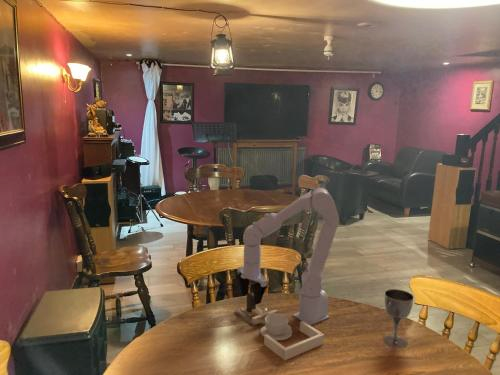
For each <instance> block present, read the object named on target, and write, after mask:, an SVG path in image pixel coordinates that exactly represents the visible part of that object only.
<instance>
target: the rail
mask: <svg viewBox="0 0 500 375" xmlns="http://www.w3.org/2000/svg"><path fill="white" fill-rule="evenodd" d="M256 308H258V309H259V310H261V311H262V312H263V313H267V312H268V311H265V310H264V309H262V307H260V306H258V304H256ZM234 310H235V311H234V312H235V313H236V314H237V315H239V316H240V317H241V318H242V319H244V320H245V321H247V322H248V323H249V324H250V325H252V326H257V324H255V325H254V324H252V318H250V317H249V316H247V315H246V314H245V313H243V312H242V311H240V309H239V308H235V309H234Z"/></svg>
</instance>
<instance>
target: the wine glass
mask: <svg viewBox="0 0 500 375" xmlns="http://www.w3.org/2000/svg"><path fill="white" fill-rule="evenodd" d="M413 304H414V296H413V294H412V293H410V292H409V291H406V290H402V289H397V288H392V289H387V290H385V292H384V306H385V311H386V313H387V315H388V316H389V317H390V318H391V320H392V321H393V323H394V324H393V326H394V333H393V334H385V335H384V336H383V337H382V341H383V342H384V343H385V344H387V345H388V346H390V347H394V348H405V347H407V346H408V341H407V339H406V338H404V337H402V336H400V335H398V331H399V330H398V328H399V325H400V323H402V321H404V320H405V319H406V318H408V317H409V316H410V314H411V311H412V308H413Z"/></svg>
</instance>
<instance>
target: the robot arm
mask: <svg viewBox="0 0 500 375" xmlns="http://www.w3.org/2000/svg"><path fill="white" fill-rule="evenodd" d="M312 208H313V209H314V211H316V212H317V214H320V217H321V218H322V219H323V220H322V224H321V226H320V230H319V232H318V236H317V240H316V242H315V246H314V249H313V252H312V254H311V257H310V261H309V263H308V264H307V266H306V268H305V270H304V271H303V272H302V274H301V277H300V279H301V288H300V289H299V302H298V304H299V306H298V312H295V313H293V315H292V316H293V317H295V318H297V319H298V320H300V322H301V321H303V322H305V323H307V324H308V325H310V326H311V325H314V324H316V323H319V322H321V321H324V320H326V319H329V318H330V316H329V315H328V309H329V297H328V294H327V292H326V291H325V290H324V289H322V281H323V273H324V268H325V266H326V263H327V259H328V257H329V253H330V250H331V247H332V244H333V241H334V239H335V238H334V237H335V235H336V232H337V229H338V226H339V223H340V216H339V213H338V210H337V206H336V202H335V201H334V199H333V197H332V195H331V193H329V190H327V189H326V188H324V187H321V186H320V187H319V186H318V187H316V188H313V189H312V191H307V192H306V193H304V194H303V195H301V196H299V197H298V198H297V199H296V200H294V201H292V203H290V204H288V205H287V206H286V207H284V208H283V209H281V210H279V211H278V212H270V213H264V217H262V218H261V219H259V220H258V221H254V222H252V224H251V225H248V226H247V227H246V228H245V230H244V232H243V237H242V238H243V243H244V244H243V245H244V247H243V265H242V266H238V267H237V273H238V274H236V275H235V278H236V280H237V283H238V285H239V287H240V292H241V295H242V296H243V297H244V296H247V294H248V293H250V292H249V290H250V287H251V289H252V291H253V292H252V293H254V302H255V304H256V305H259V304H261V303H262V300H263V297H264V294H265V292H266V290H267V288H268V287H269V284H268V279H266V278H265V277H264V276H263V273H261V258H262V248H261V242H262V241H261V240H262V239H263V238H264V239H265V238H266V237H268V236H270V235H271V234H273V233H274V232H276V231H277V230H279V229H281V228H282V225H283V224H282V223H283V222H284V221H286V220H288V219H289V218H291V217H293V216H295V215H297V214H299V213H300V212H301V211H302V212H303V211H306V212H307V211H308V212H312V211H313V209H312ZM251 281H253V282H255V283H254V284H251V285H250V282H251Z"/></svg>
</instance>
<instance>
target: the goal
mask: <svg viewBox="0 0 500 375" xmlns="http://www.w3.org/2000/svg"><path fill="white" fill-rule="evenodd" d="M299 331H300V332H301V333H303V334H304V335H306V336H308V337H307V338H306V339H304V340H302V341H299V342H296V343H294V344H292V345H289V346H287V347H285V346H284V345H282V344H281V343H280V342H279V341H278V340H274V339H273V338H272V337H270V336H269V335H267V334H266V335H264V336H263V338H264V339H263V340H264V341H263V342H264V343H263V344H264V346H265V347H266V348H267V349H269V350H271V351H272V352H273V353H275V354H276V355H277V356H279V358H281V359H282V360H284V361H287V360H289V359H291V358H294V357H296V356H299V355H301V354H303V353H305V352H308V351H310V350H312V349H315V348H317V347H319V346H321V345H324V344H325V343H324V342H325V333H322V332H321V331H319V330H318V329H316V328H315V327H313V326H311V325H308V324H307V323H305V322H303V321H301V320H300V322H299Z"/></svg>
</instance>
